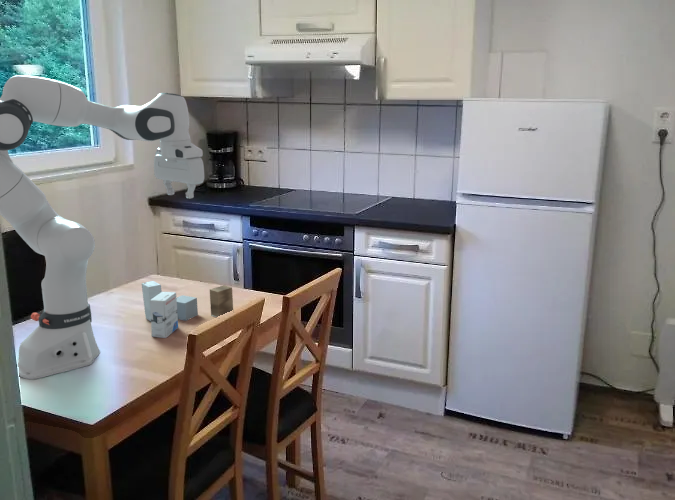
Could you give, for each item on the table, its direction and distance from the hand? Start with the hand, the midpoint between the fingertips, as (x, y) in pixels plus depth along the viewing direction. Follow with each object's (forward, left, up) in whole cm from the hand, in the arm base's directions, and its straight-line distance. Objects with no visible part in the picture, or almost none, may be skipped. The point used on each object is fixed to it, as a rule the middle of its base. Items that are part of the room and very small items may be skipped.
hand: (180, 196), depth 188 cm
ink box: (-9, -1, -41) cm, 42 cm away
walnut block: (+12, -2, -41) cm, 42 cm away
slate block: (+3, +6, -41) cm, 41 cm away
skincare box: (-5, +11, -41) cm, 43 cm away
